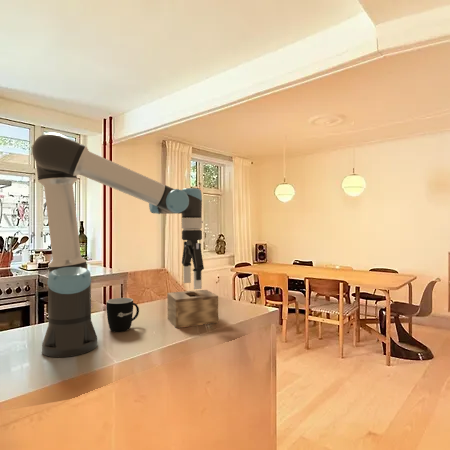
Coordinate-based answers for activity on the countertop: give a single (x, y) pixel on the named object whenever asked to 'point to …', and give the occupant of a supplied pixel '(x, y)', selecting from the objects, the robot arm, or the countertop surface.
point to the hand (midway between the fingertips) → (192, 285)
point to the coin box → (192, 308)
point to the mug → (120, 314)
